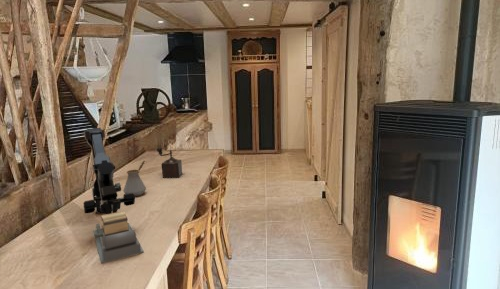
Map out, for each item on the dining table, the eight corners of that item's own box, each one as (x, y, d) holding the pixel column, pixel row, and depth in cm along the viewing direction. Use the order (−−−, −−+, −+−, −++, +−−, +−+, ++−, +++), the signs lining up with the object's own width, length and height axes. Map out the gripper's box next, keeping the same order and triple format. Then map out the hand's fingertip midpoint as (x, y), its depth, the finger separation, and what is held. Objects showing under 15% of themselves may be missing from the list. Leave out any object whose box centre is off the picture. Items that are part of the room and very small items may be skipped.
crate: (104, 240, 135) (101, 215, 133) (126, 234, 139) (123, 210, 137) (106, 247, 129) (103, 221, 127) (129, 242, 132) (127, 216, 130)
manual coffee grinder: (183, 173, 228) (181, 145, 225) (178, 178, 217) (176, 149, 214) (159, 173, 229) (157, 146, 226) (154, 178, 218) (151, 150, 215)
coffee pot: (140, 198, 183) (138, 170, 180) (119, 198, 184) (116, 170, 181) (156, 185, 204) (154, 160, 201) (137, 185, 205) (135, 160, 202)
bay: (90, 232, 143) (88, 210, 142) (128, 224, 150) (126, 202, 149) (98, 264, 118) (95, 237, 117) (143, 252, 125) (141, 227, 123)
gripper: (80, 181, 133) (86, 218, 125) (131, 173, 142) (140, 207, 134) (81, 195, 141) (87, 231, 134) (130, 187, 150) (138, 220, 142)
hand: (113, 222), depth 136 cm, fingers closed, pressing on crate
